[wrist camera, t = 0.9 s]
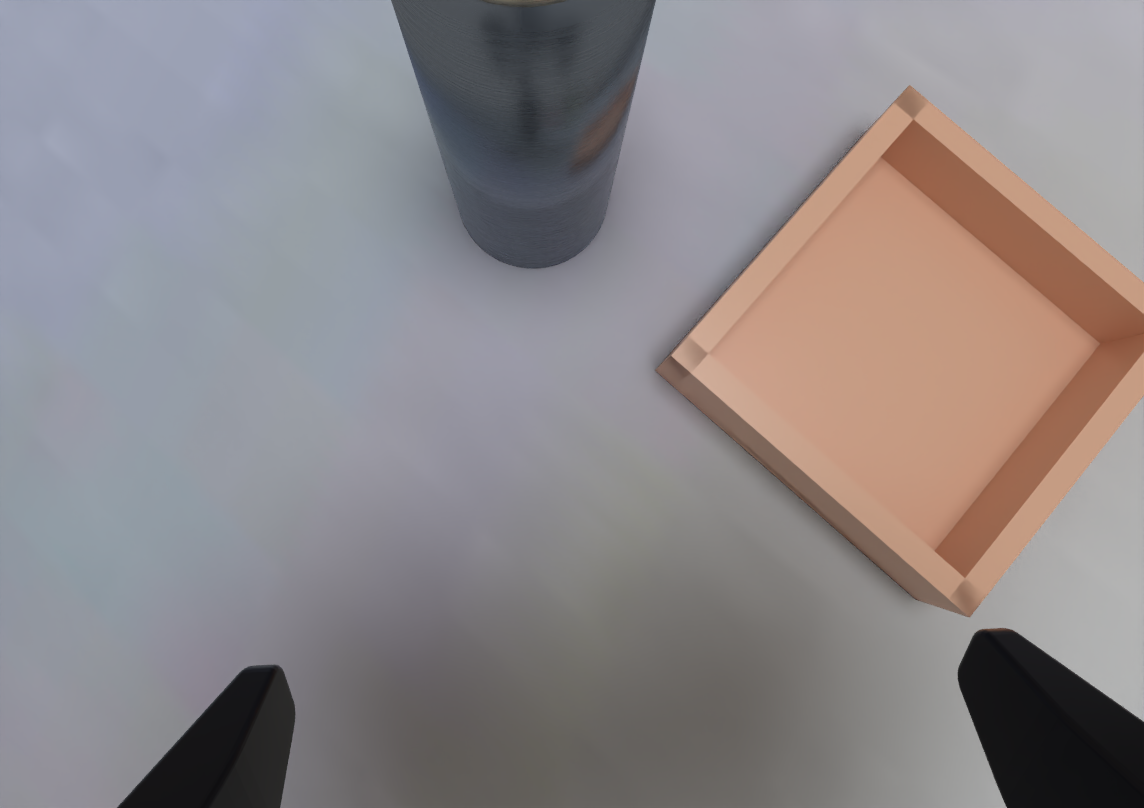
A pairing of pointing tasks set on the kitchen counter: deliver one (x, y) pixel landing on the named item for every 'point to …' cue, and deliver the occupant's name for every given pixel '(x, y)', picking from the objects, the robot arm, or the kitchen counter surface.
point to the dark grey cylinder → (528, 113)
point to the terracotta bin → (923, 355)
